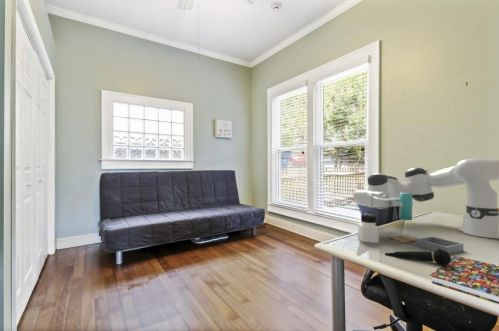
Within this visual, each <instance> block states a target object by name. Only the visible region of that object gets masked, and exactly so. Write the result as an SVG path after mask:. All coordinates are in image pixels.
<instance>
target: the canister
mask: <svg viewBox="0 0 499 331" xmlns="http://www.w3.org/2000/svg"><path fill="white" fill-rule="evenodd" d="M400 202H403V203H404V206H398V207H399V211H398V213H399V214H398V217H399V218H398V219H399V220H402V221H403V220H404V221H412V220H413V205H412V202H413V198H412V193H400Z"/></svg>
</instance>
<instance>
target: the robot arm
mask: <svg viewBox="0 0 499 331" xmlns="http://www.w3.org/2000/svg"><path fill="white" fill-rule="evenodd" d="M428 172H429V170H426V169H424V168H421V167H412V168H411V167H410V168H409V169H408V170H406V171H405V172H404V177H405V178H406V181H402V180H401V181H399V179H398V178H397V177H395V176H393V175H392V176H391V175H386V174H383V173H381V172H380V173H379V172H378V173H376V172H375V173H371V174H370V175H369V176H368V177H366V178H367V186H368V189H356V190H355V191H354V192H353V195H352V197H353V198H352V199H353V202H354V203H355V204H357V205H359V206H364V207H368V208H370V209H371V208H372V209H373V208H374V209H379V210H385V209H387V208H393V207H400V206H404V203H403V202H400V193H412V200H414V201H416V202H417V203H418V202H419V203H427V202H430V201H431V200H433V199H434V198H435V193H434V191H433V188H436V189H442V188H451V187H456V186H461V185H464V186H465V190H466V198H467V202H466V203H467V204H466V206H465V212H466V213H465V214H464V215H463V216H462V223H461V224H462V225H461V227H459V228H458V231H460V232H463V234H464V233H465V234H467V235H470V236H476V237H481V238H488V239H499V208H498V194H497V191H496V190H494V189H493V187H492V186H491V183H490V182H491V181H497V180H499V159H496V158H466V159H463V160H462V159H461V160H459V161H458V162H457V163H456V165H452V166H448V167H445V168H442V169H439V170H435V171H433V172H432V173H428ZM412 206H414V202H413V201H412Z"/></svg>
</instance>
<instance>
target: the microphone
mask: <svg viewBox="0 0 499 331" xmlns="http://www.w3.org/2000/svg"><path fill="white" fill-rule="evenodd" d="M384 255H385V256H390V257H395V258H400V259H404V260H405V259H406V260H414V261H419V262H433V263H434V262H435V263H436V264H438V265H440V266H442V267H443V266H446V265H450V264H451V262H452V256H451V254H449V253H448V252H447V251H445V250H441V249H437V250H435V251H432V250H429V251H427V250H425V251H423V250H422V251H420V250H419V251H406V250H405V251H399V250H398V251H393V252H385V253H384Z"/></svg>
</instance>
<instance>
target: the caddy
mask: <svg viewBox="0 0 499 331" xmlns="http://www.w3.org/2000/svg"><path fill="white" fill-rule="evenodd" d="M418 238H419V237H418ZM414 243H415V246H416V247H420V248H422V249H425V250H426V249H427V250H429V251H431V252H434V251H435V250H437V249H441V250H445V251H447V252H448V253H449V254H450V255H451V254H452V255H453V254H455V253H460V252H463V251H464V243H461V242H457V241H454V240H453V241H452V240H449V239H444V238H441V237H438V236H427V237H420V238H419V239H416V240H415V242H414Z"/></svg>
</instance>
